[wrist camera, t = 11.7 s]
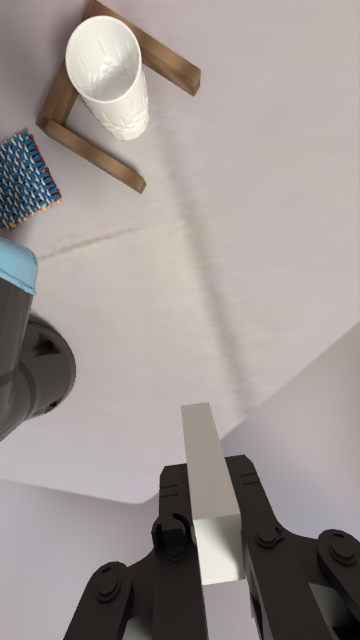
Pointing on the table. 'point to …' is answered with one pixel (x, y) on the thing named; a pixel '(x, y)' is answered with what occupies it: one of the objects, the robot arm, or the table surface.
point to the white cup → (109, 75)
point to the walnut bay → (66, 93)
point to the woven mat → (23, 182)
